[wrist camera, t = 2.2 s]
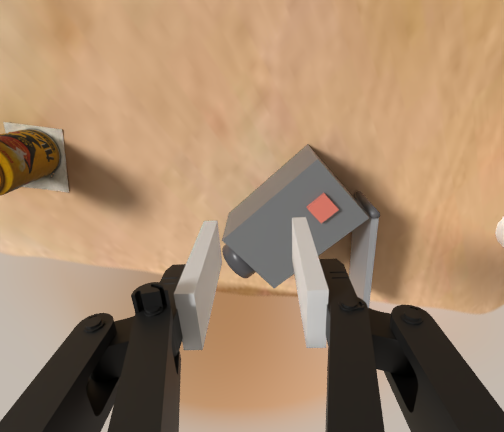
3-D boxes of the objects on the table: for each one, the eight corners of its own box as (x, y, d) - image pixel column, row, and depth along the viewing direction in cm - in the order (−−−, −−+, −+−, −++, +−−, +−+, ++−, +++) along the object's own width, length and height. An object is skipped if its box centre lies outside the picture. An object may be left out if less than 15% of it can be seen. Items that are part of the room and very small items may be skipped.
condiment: (62, 129, 40) (-13, 147, 29) (69, 192, 44) (4, 230, 33) (4, 121, 40) (-93, 137, 29) (16, 185, 44) (-68, 221, 32)
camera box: (307, 144, 40) (318, 160, 32) (351, 194, 42) (371, 220, 35) (215, 225, 45) (204, 256, 37) (258, 266, 47) (258, 304, 39)
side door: (354, 191, 42) (371, 211, 36) (366, 190, 42) (385, 210, 35) (348, 279, 47) (361, 311, 41) (358, 279, 47) (373, 310, 41)
